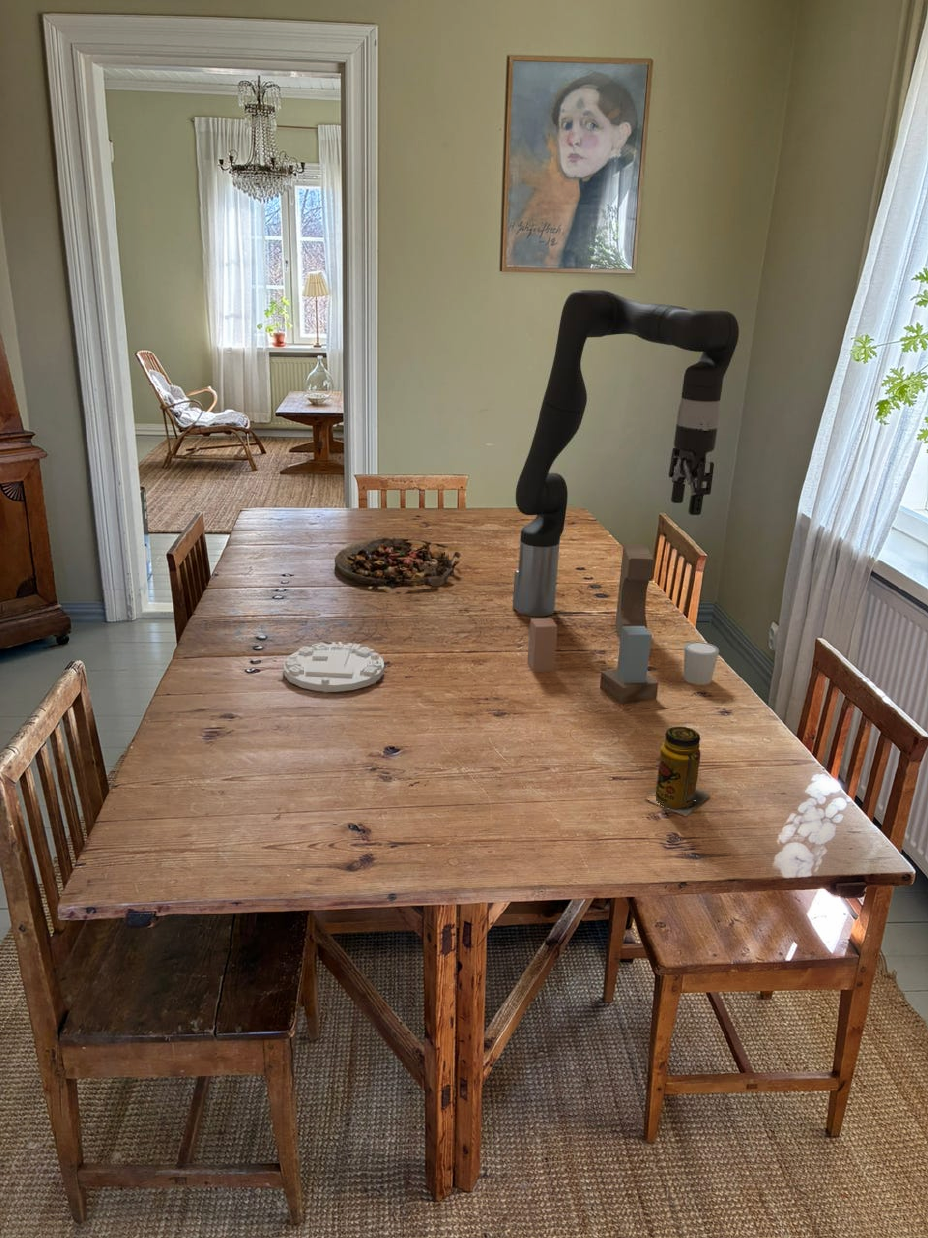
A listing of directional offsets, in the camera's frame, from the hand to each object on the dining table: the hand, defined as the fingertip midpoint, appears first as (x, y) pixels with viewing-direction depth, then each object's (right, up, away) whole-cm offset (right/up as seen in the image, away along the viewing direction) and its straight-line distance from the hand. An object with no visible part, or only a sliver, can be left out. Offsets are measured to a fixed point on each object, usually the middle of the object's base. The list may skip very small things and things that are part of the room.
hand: (685, 508), depth 181 cm
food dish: (-61, -8, +72) cm, 94 cm away
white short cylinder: (+5, -34, +13) cm, 36 cm away
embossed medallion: (-69, -32, +9) cm, 76 cm away
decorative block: (-5, -25, +33) cm, 42 cm away
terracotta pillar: (-27, -31, +15) cm, 44 cm away
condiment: (-8, -50, -30) cm, 59 cm away
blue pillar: (-10, -33, +3) cm, 34 cm away
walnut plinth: (-10, -36, +5) cm, 38 cm away
